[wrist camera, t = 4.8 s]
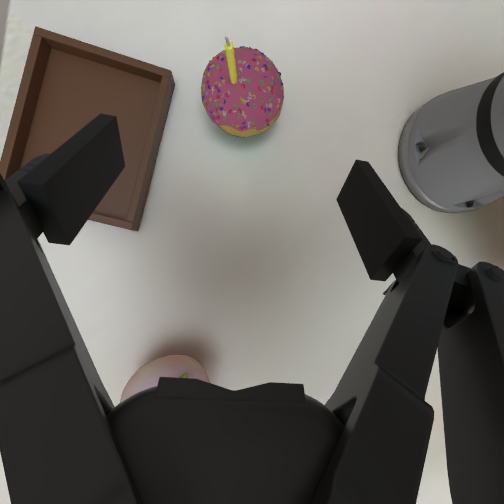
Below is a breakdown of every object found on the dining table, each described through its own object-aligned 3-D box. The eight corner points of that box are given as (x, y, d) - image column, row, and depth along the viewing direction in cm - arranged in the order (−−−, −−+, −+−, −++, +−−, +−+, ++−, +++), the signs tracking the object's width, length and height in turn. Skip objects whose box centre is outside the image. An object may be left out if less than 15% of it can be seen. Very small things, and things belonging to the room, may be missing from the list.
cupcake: (217, 159, 30) (217, 103, 19) (192, 89, 30) (176, -15, 18) (283, 138, 31) (323, 72, 20) (260, 71, 31) (287, -40, 19)
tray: (50, 44, 28) (35, 26, 26) (174, 84, 30) (171, 70, 27) (9, 200, 28) (-10, 196, 25) (138, 231, 29) (131, 229, 27)
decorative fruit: (148, 332, 30) (112, 374, 20) (217, 345, 31) (216, 391, 21) (128, 411, 30) (82, 493, 20) (198, 422, 31) (188, 505, 21)
